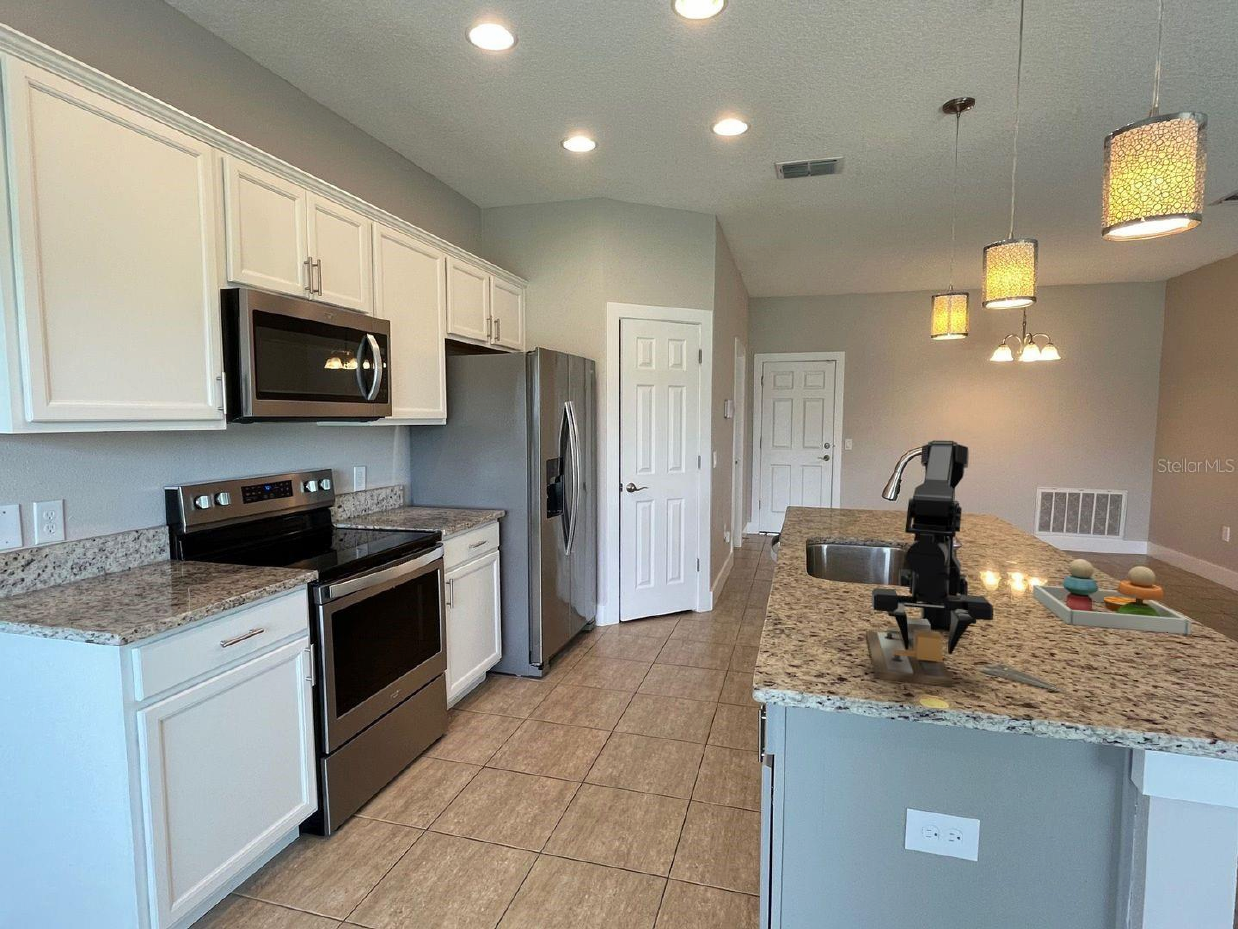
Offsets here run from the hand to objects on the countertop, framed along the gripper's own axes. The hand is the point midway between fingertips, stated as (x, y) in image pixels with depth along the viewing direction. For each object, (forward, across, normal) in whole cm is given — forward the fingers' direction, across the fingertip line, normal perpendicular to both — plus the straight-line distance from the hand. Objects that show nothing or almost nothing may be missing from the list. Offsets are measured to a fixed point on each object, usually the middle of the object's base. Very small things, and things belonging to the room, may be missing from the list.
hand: (927, 651), depth 110 cm
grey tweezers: (+4, -17, 0) cm, 18 cm away
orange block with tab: (+2, +2, 0) cm, 3 cm away
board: (+4, +3, -5) cm, 7 cm away
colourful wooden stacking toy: (+4, -46, -52) cm, 70 cm away
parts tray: (+4, -45, -50) cm, 67 cm away
